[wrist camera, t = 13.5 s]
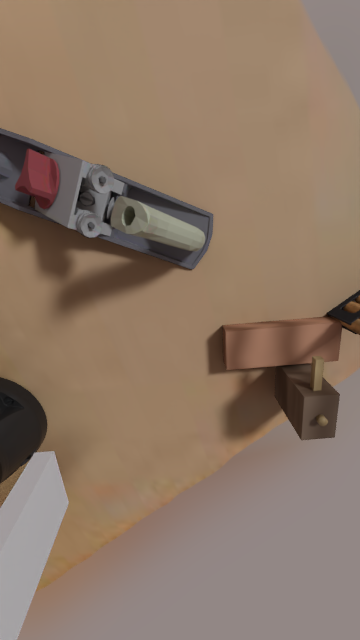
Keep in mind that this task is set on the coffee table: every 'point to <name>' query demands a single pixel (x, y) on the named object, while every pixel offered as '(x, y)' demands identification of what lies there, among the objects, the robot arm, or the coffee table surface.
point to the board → (281, 342)
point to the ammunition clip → (348, 313)
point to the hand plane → (100, 202)
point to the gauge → (307, 399)
